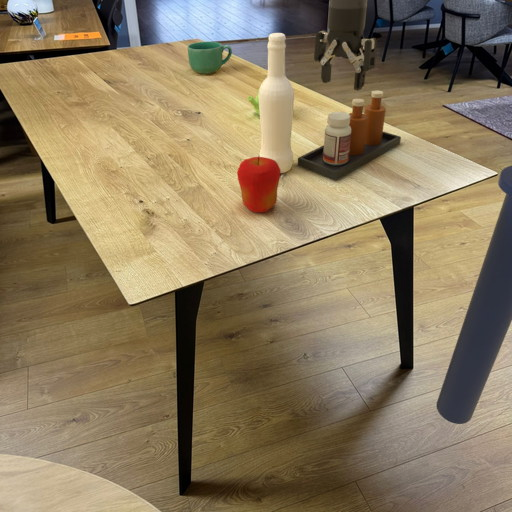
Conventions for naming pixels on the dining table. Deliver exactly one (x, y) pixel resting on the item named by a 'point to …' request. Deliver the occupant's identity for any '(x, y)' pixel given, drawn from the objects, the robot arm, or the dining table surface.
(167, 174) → the dining table surface
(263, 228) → the dining table surface
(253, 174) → the apple
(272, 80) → the bottle
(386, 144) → the tray
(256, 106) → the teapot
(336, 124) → the pill bottle
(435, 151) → the dining table surface
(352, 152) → the amber bottle near
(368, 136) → the amber bottle far
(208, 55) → the mug
